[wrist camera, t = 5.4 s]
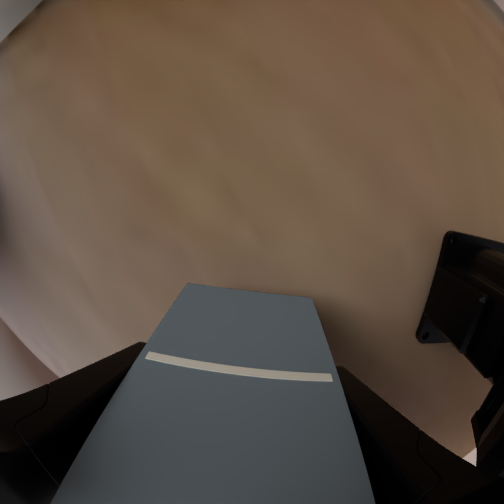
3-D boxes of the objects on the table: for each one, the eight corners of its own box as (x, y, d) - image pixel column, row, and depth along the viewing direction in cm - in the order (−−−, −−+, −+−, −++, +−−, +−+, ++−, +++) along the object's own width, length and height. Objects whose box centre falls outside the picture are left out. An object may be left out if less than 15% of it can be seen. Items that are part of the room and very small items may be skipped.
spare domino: (311, 297, 11) (388, 562, 2) (304, 332, 12) (348, 578, 2) (187, 282, 11) (42, 517, 2) (186, 318, 12) (79, 543, 2)
